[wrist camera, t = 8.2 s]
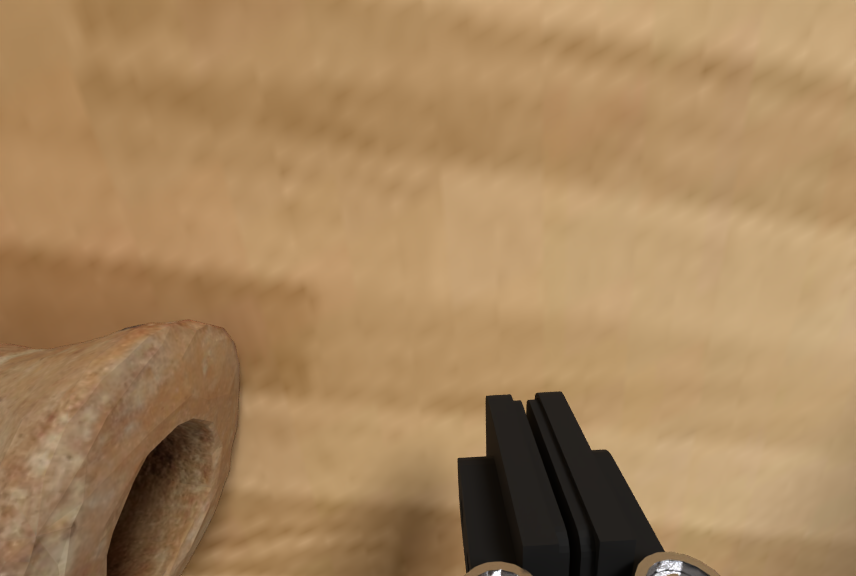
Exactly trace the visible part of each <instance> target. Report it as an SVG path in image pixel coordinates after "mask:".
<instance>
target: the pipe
mask: <svg viewBox="0 0 856 576" xmlns="http://www.w3.org/2000/svg"><path fill="white" fill-rule="evenodd" d="M238 402H239V359H238V355H237V351H236V346H235V343H234V341H233V340H232V339H231V337H230V336H229V334H228V333H227V331H226V330H225V329H224V328H221V327H217V326H213V325H209V324H205V323H201V322H197V321H193V320H182V321H175V322H167V323H148V324H143V325H138V326H133V327H128V328H125V329H122V330H120V331H117V332H115V333H112V334H110V335H107V336H104V337H101V338H97V339H94V340H90V341H87V342H82V343H77V344H72V345H67V346H62V347H56V348H51V349H33V348H28V347H23V346H18V345H13V344H0V576H180V575H181V573H182V572H183V570H184V568H185V567H186V565H187V564H188V562H189V560H190V558H191V557H192V555H193V553H194V551H195V549H196V548H197V546H198V544H199V542H200V540H201V539H202V537H203V535H204V533H205V531H206V529H207V527H208V525H209V523H210V521H211V519H212V517H213V515H214V513H215V511H216V508H217V505H218V502H219V499H220V496H221V493H222V490H223V487H224V484H225V481H226V479H227V476H228V474H229V471H230V462H231V450H232V445H233V441H234V437H235V433H236V430H237V422H238Z"/></svg>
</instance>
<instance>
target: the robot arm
mask: <svg viewBox="0 0 856 576" xmlns="http://www.w3.org/2000/svg"><path fill="white" fill-rule="evenodd" d="M458 484H459V502H460V515H461V526H462V536H463V546H464V555H465V565H466V574H465V575H464V576H720V575H719V574H718V573H717V572H716V571H715V570H714V569H712V568H711V567H709V566H708V565H706V564H705V563H703V562H702V561H700V560H697V559H695V558H693V557H690V556H688V555H685V554H680V553H675V552H665V551H664V549H663V547H662V546H661V544H660V542H659V540H658V538H657V537H656V535H655V533H654V531H653V529H652V528H651V526H650V524H649V522H648V520H647V519H646V517H645V515H644V513H643V511H642V509H641V508H640V506H639V504H638V502H637V500H636V499H635V497H634V495H633V493H632V491H631V490H630V488H629V486H628V484H627V482H626V481H625V479H624V477H623V475H622V473H621V471H620V470H619V468H618V466H617V464H616V462H615V461H614V459H613V457H612V456H611V454H610V453H609V451H607V450H591V448H590V446H589V444H588V442H587V440H586V438H585V436H584V434H583V432H582V430H581V428H580V426H579V424H578V422H577V420H576V418H575V416H574V414H573V412H572V411H571V409H570V407H569V405H568V403H567V401H566V399H565V397H564V395H563V393H562V392H543V393H536V395H535V400H528V401H527V410H526V413H525V410H524V407H523V405H522V402H521V401H520V400H518V401H513V399H512V396H511V395H510V394H509V395H492V396H486V456H485V457H468V458H458Z"/></svg>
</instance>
